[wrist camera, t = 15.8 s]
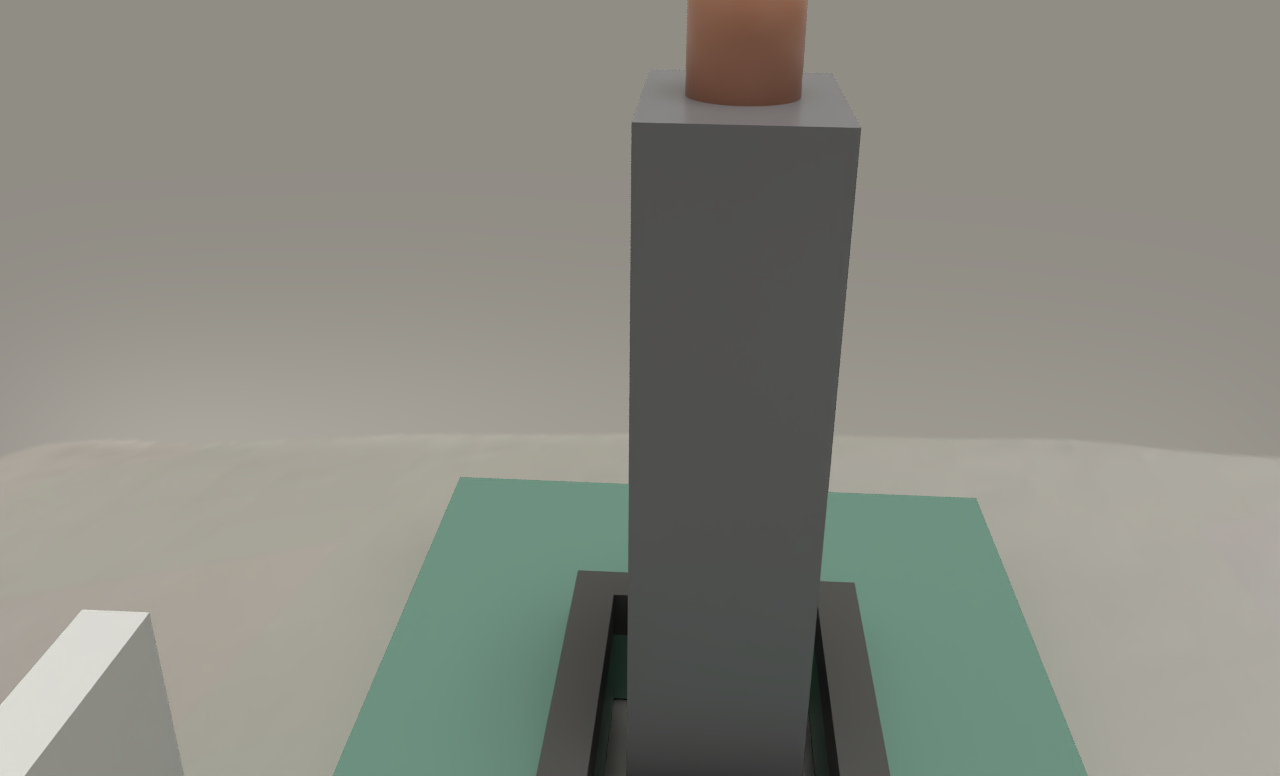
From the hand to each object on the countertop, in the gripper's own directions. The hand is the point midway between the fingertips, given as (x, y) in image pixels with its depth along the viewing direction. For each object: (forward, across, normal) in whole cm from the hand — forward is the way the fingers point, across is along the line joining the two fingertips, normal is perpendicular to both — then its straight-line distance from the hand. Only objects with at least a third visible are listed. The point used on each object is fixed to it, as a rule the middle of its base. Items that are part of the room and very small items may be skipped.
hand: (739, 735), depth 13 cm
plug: (+10, 0, -11) cm, 15 cm away
